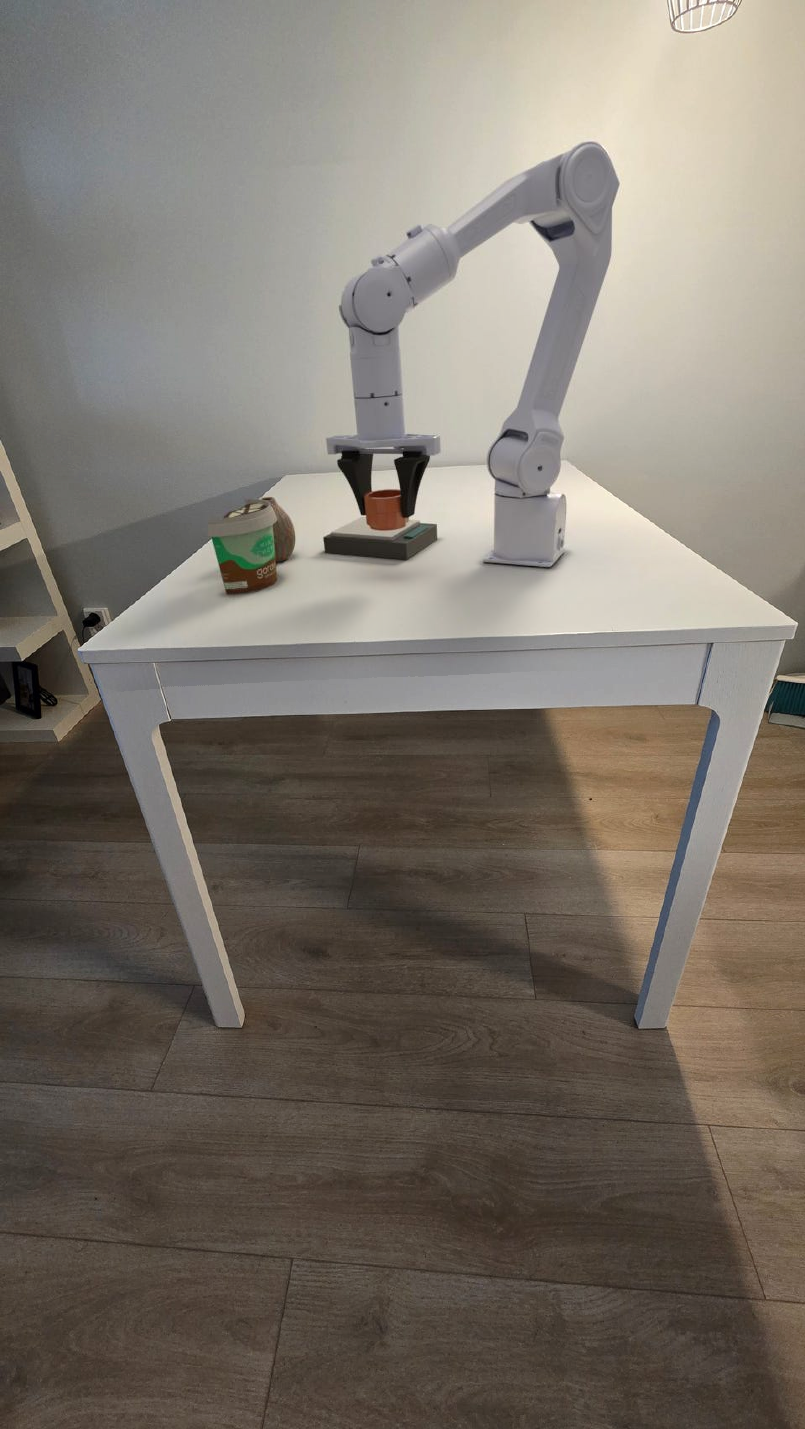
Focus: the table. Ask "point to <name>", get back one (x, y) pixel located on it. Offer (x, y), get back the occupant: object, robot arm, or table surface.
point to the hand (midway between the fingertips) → (387, 514)
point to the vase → (282, 532)
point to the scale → (380, 540)
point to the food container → (245, 547)
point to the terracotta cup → (384, 510)
